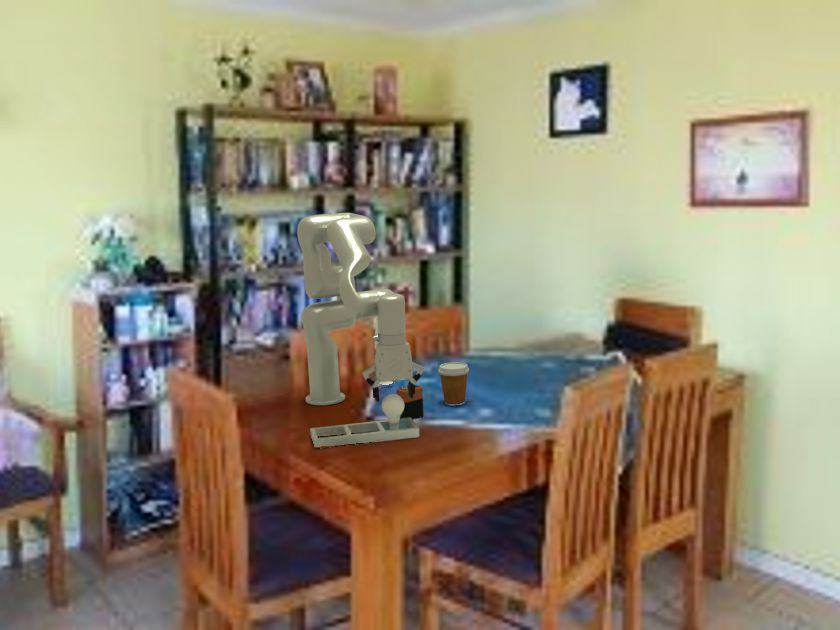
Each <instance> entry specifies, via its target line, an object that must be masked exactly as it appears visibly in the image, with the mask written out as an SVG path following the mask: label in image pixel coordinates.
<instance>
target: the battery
mask: <svg viewBox="0 0 840 630" xmlns="http://www.w3.org/2000/svg"><path fill="white" fill-rule="evenodd" d="M423 394H424V393H423V387H422V386H420V385H418V382H416V384H415V394H413V398H410V396H409V391H408V385H402V386H401V387H397V388H396V395H399V396H400V397H401V398H402V399H403V401H404V404H405V407H404V410H403V412H402V414H401V416H400V418H409V417H411V418H412V420H414V418H415V419H418V418H417V417H419V418H421V417H420V416H422V417H424V396H423Z"/></svg>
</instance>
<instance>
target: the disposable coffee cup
mask: <svg viewBox="0 0 840 630" xmlns="http://www.w3.org/2000/svg"><path fill="white" fill-rule="evenodd" d="M437 371H438V373H439V376H440V383H441V389H442V395H443V401H444V404H445V403H447V404H460V403H463V402H465V403H466V395H467V386H468V385H467V383H468V374H469V372H470V368H469V366H468V364H467V363H465V362H458V361H454V362H453V361H452V362H445V363H441V364H440V365H439V367H438V370H437Z"/></svg>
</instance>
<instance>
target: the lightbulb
mask: <svg viewBox="0 0 840 630" xmlns="http://www.w3.org/2000/svg"><path fill="white" fill-rule="evenodd" d="M404 407H405V404H404V401H403V399H402V398H401V397H400V396H399V395H397V393H390V394H387V395H386V396H385V397H384V398H383V400H382V401H381V409H382V412H383V413H384V414H385V416H386V418H387V420H388V421H389V426H390V430H396V429H399V420H400V416H401V414H402V412H403V410H404Z"/></svg>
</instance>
